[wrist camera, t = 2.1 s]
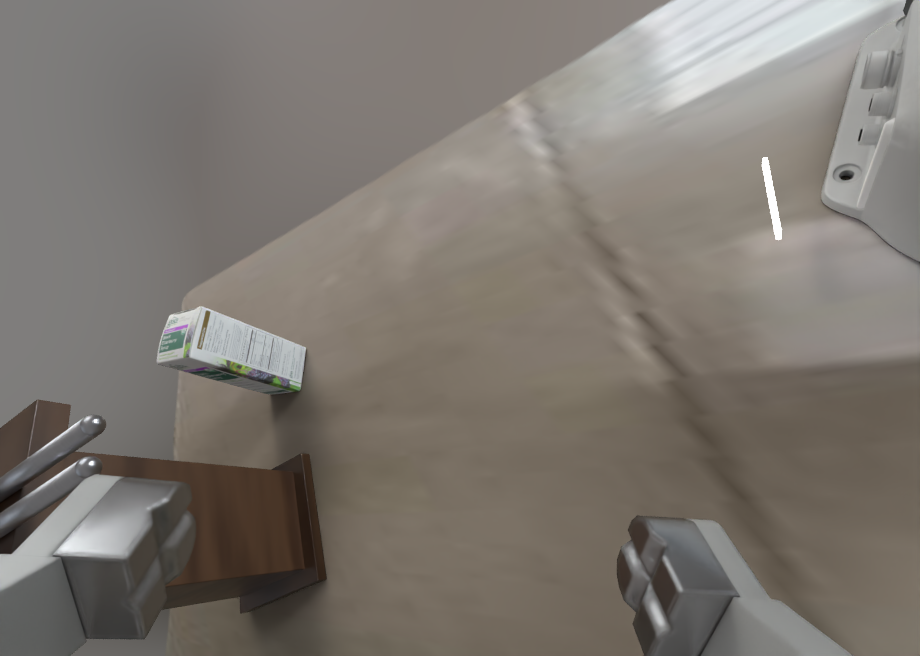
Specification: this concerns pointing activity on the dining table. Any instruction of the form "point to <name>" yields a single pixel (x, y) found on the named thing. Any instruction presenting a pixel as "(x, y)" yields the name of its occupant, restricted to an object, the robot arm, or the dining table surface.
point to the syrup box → (231, 352)
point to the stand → (199, 515)
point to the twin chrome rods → (43, 462)
